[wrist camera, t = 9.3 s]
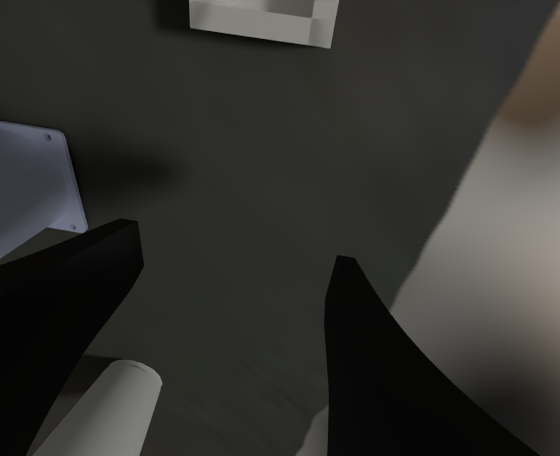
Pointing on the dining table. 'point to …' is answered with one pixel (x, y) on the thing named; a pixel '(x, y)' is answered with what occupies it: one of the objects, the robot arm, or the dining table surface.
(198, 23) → the gray square open box
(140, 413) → the foam cup
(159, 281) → the dining table surface
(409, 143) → the dining table surface
